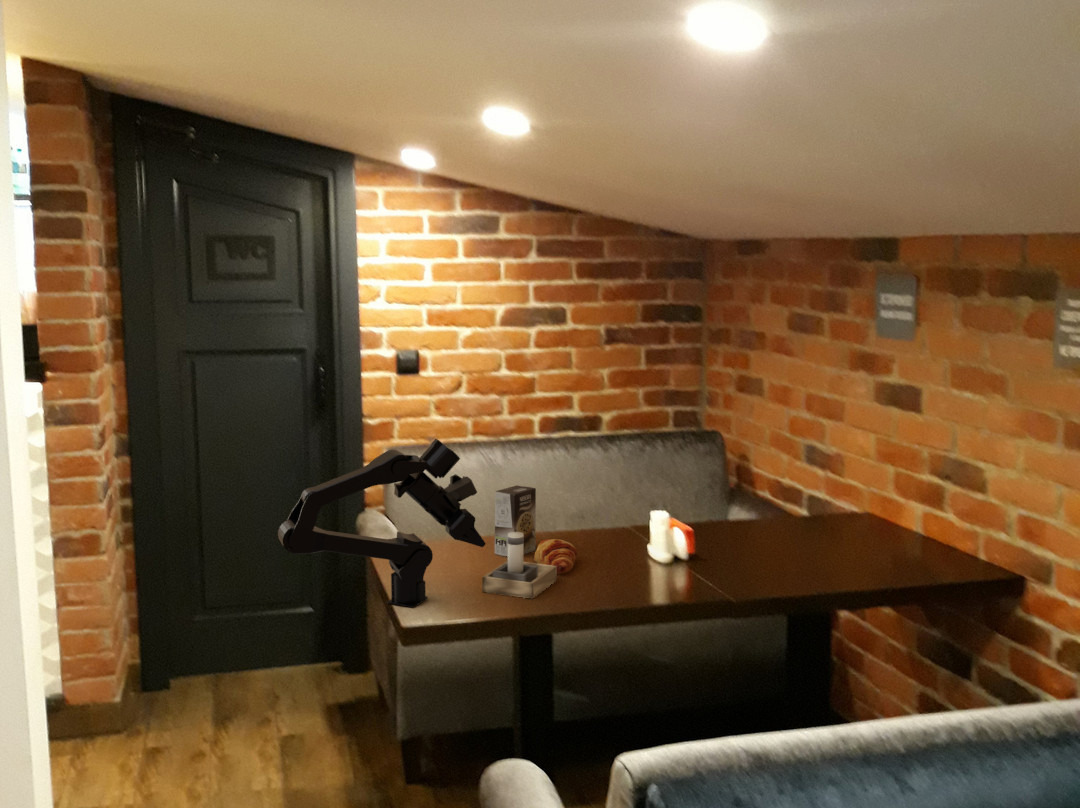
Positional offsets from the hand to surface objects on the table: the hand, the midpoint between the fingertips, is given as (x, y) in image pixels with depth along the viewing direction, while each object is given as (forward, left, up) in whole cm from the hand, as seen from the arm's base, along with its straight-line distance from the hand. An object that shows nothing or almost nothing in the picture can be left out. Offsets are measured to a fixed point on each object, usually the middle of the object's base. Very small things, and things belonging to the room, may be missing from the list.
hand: (478, 539), depth 233 cm
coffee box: (-6, +32, -12) cm, 35 cm away
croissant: (+7, +27, -13) cm, 31 cm away
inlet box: (+6, +8, -12) cm, 16 cm away
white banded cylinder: (+6, +6, -11) cm, 14 cm away
